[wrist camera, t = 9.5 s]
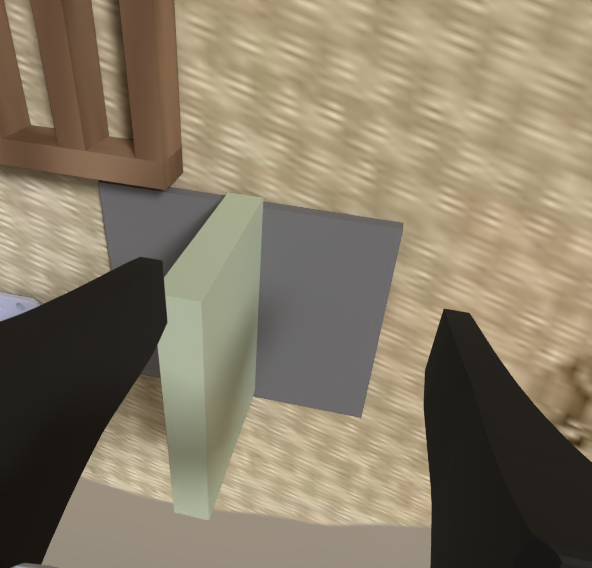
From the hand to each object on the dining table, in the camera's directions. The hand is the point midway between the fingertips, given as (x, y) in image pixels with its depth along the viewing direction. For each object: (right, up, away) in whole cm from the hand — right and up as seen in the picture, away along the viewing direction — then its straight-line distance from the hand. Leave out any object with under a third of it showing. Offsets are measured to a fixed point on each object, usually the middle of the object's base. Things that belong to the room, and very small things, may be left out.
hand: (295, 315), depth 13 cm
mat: (-3, 0, +13) cm, 14 cm away
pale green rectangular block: (-3, 0, +13) cm, 13 cm away
